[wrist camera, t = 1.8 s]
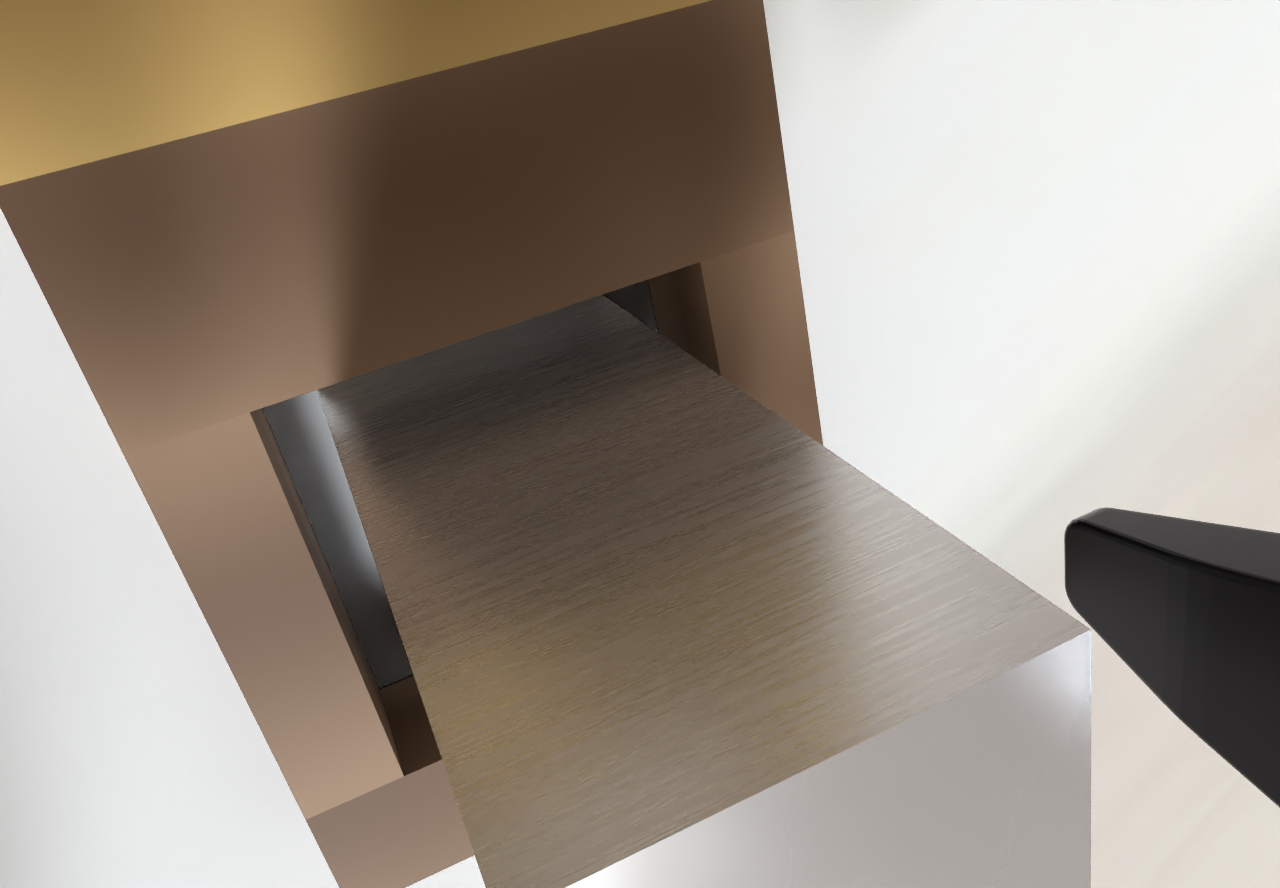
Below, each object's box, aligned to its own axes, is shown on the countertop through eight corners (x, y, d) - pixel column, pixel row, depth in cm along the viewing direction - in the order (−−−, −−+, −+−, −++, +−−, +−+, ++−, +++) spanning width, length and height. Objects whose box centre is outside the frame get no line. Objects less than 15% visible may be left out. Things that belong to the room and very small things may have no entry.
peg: (656, 532, 16) (1090, 1015, 8) (410, 632, 15) (644, 1290, 7) (601, 293, 14) (1092, 628, 6) (316, 388, 13) (497, 919, 5)
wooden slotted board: (789, 611, 18) (854, 676, 16) (333, 814, 16) (352, 912, 14) (470, -1303, 8) (541, -1636, 7) (-737, -1425, 6) (-1072, -1944, 5)
